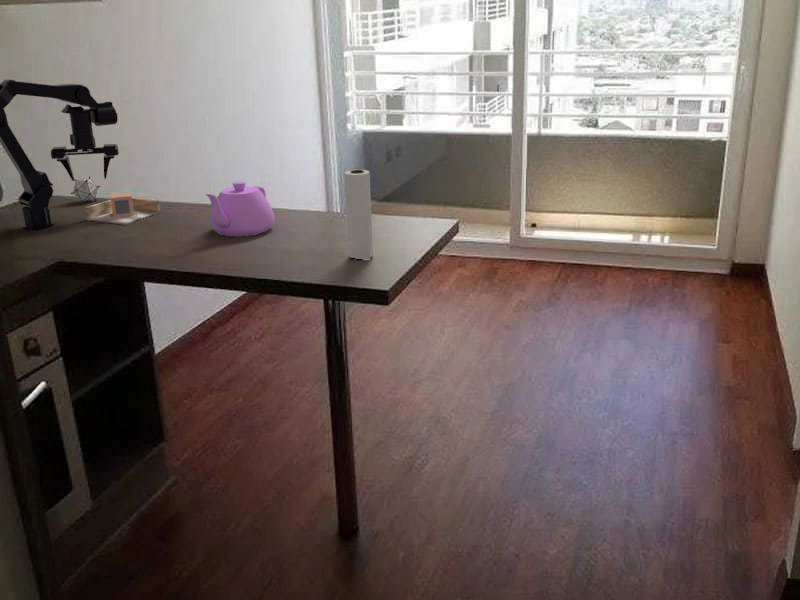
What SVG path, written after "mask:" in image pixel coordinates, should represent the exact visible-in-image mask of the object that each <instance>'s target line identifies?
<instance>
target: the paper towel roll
mask: <svg viewBox="0 0 800 600" xmlns="http://www.w3.org/2000/svg"><path fill="white" fill-rule="evenodd" d="M370 173H371V172H370V171H369V170H367V169H366V170H365V169H352V170H346V171H345V172H344V185H345V203H346V204H345V206H346V207H345V208H346V222H347V223H346V224H347V241H348V244H347V245H348V257H349V256H350V257H355V258H360V259H361V258H362V259H371V258H372V257H373V256H374V249H373V247H374V246H373V244H374V243H373V224H372V223H373V222H372V218H373V217H372V198H371V175H370ZM372 255H373V256H372ZM370 256H372V257H371V258H370ZM350 257H349V258H350Z"/></svg>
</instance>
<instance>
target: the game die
mask: <svg viewBox="0 0 800 600" xmlns="http://www.w3.org/2000/svg"><path fill="white" fill-rule="evenodd" d="M74 181H75V182H74V188H73V192H70V195H74V196H76V198H78V200H79V201H80V204H83V202H86V201H87V202H88V201H92V200H95V202H97V201H98V200H97V199H96V197H97V193H98V189H99V188H101V185H97V184H96V183H95V182H94V181H93V180H91V176H88V178H83V179H76V178H74Z"/></svg>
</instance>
